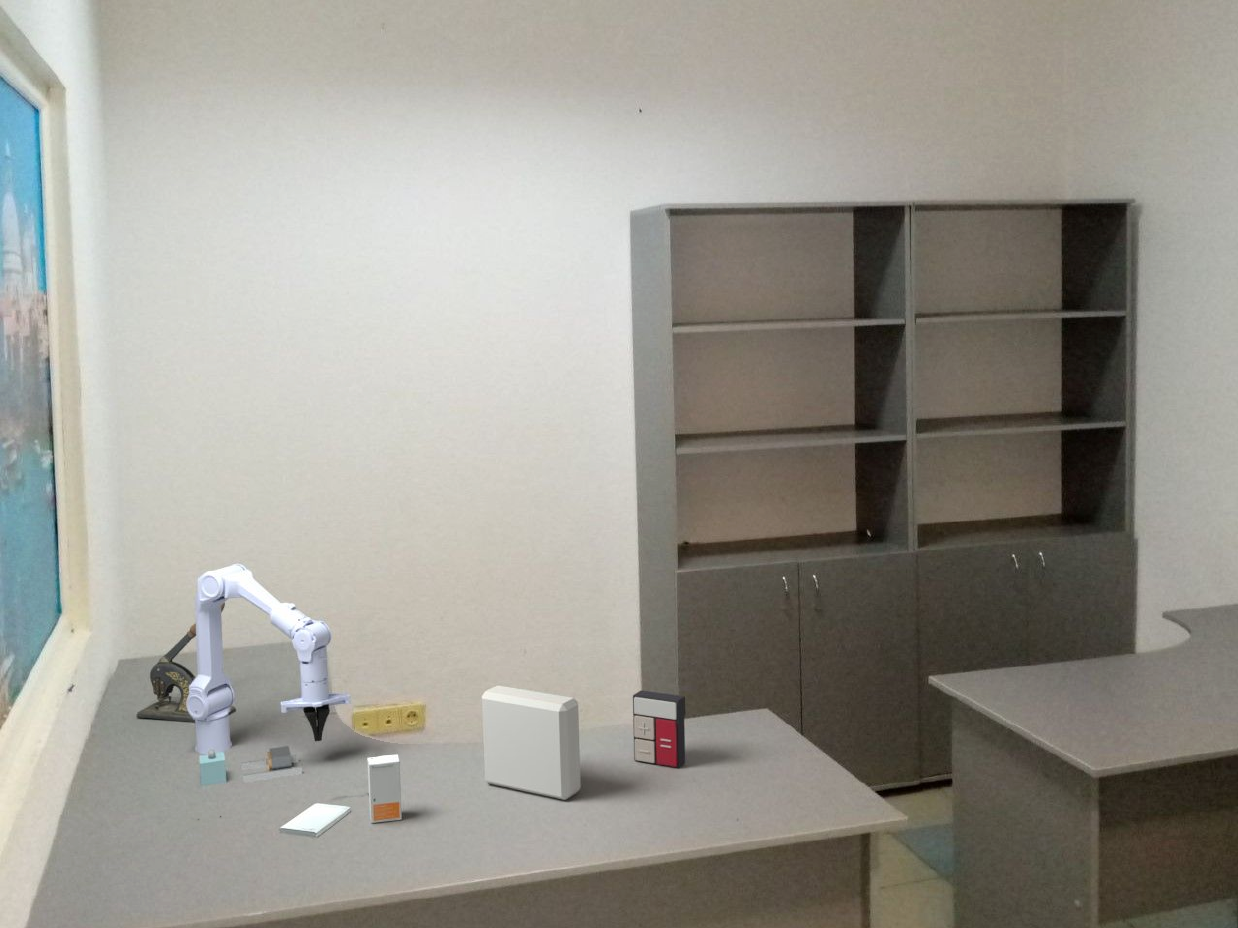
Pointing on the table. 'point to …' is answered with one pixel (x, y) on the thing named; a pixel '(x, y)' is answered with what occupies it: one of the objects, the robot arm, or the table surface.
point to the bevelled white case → (531, 741)
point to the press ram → (279, 758)
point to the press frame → (268, 774)
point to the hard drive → (315, 820)
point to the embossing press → (172, 684)
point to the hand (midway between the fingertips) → (317, 739)
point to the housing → (212, 768)
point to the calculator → (659, 728)
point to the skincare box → (384, 788)
